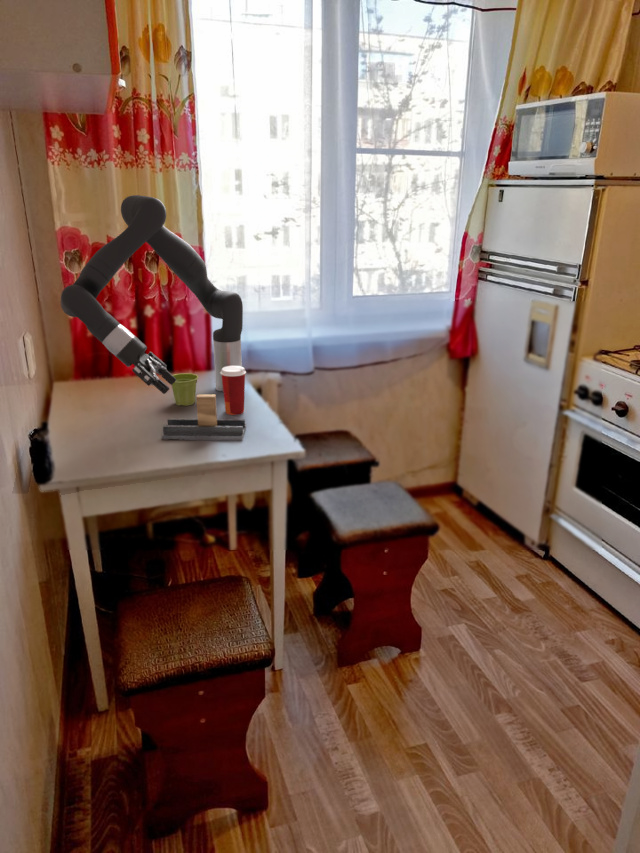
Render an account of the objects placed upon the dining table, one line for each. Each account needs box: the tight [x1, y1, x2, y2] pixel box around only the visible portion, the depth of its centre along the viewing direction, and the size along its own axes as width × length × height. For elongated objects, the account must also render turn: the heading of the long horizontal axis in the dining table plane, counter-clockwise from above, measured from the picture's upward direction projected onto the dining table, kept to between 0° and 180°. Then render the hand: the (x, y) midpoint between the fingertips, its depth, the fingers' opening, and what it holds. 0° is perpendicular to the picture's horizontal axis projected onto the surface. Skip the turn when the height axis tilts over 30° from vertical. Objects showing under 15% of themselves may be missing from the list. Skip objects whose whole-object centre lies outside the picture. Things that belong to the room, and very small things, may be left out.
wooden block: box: [195, 394, 218, 426], centre depth 171 cm, size 2×5×10 cm, turn 93°
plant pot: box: [171, 372, 199, 407], centre depth 196 cm, size 9×9×9 cm
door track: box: [161, 418, 247, 441], centre depth 172 cm, size 10×22×3 cm, turn 90°
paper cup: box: [220, 366, 247, 416], centre depth 187 cm, size 8×8×14 cm
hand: (170, 386), depth 168 cm, fingers open, 8 cm apart
